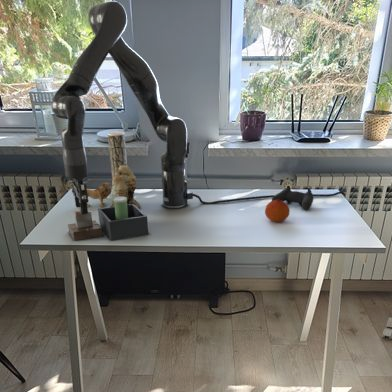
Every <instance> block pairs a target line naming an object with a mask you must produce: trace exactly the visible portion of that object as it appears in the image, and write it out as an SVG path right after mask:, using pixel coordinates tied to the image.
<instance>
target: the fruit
mask: <svg viewBox="0 0 392 392" xmlns="http://www.w3.org/2000/svg"><path fill="white" fill-rule="evenodd" d="M264 215H265V217H266V218H267V219H268V220H269V221H271V222H274V223H281V222H284V221H285V220H287V219H288V218H289V216H290V207H289V205H288V203H287V202H286V201H282V200H278V199H276V200H274V201H272V200H271V201H270V202H268V203H267V205H266V206H265V209H264Z"/></svg>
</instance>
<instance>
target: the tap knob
mask: <svg viewBox="0 0 392 392" xmlns="http://www.w3.org/2000/svg"><path fill="white" fill-rule="evenodd" d="M73 215H74V222H75V223H76V227H77V228H82V227H89V226H93V222H92V221H93V216H92V215H93V214H92V211H91V210H90V209H88V214H82V213H81V210H80V211H77V210H76V211H74V212H73Z"/></svg>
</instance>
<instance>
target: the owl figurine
mask: <svg viewBox="0 0 392 392" xmlns="http://www.w3.org/2000/svg"><path fill="white" fill-rule="evenodd" d="M118 174H119V176H115V177H113V180H111V181H112V182H111V183H112V184H111V189H112V196H113V199H114V198H115V197H126V198H127V205H128V204H134V205H135V206H136V207H137V208H139V209H140V208H141V206H140V202H138V200H136V199H135V192H136V190H137V177H136V175H135V174H134V173H133V170H132V169H131V168H130V167H129V166H128V165H127V166H125V165H123V166H120V167H119V168H118ZM114 206H115V205H114V200H112V204H111V205H110V206H109V207H114Z"/></svg>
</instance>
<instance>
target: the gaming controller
mask: <svg viewBox="0 0 392 392" xmlns="http://www.w3.org/2000/svg"><path fill="white" fill-rule="evenodd" d="M313 194H314V193H313V192H312V190H311V188H308V189H307V191H306V192H302V191H297V190H291V186H290V185H288V184H287V186H286V187H285V188H284V189H283V190H281V191H279V192H278V193H276V194H274V195H275V196H273V197H272V198H271V201H274V200H276V199H278V200H282V201H284V202H285V203H287V204H291V203H295V204H298V205H300V206H301V207H302V210H304V211H308V210H310V209H311V207H312V205H313V202H314V196H313Z"/></svg>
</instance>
